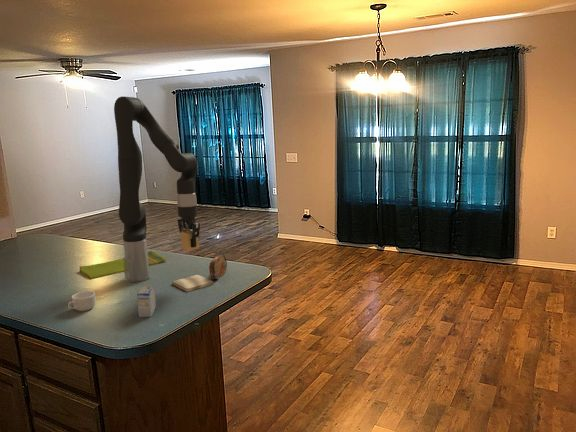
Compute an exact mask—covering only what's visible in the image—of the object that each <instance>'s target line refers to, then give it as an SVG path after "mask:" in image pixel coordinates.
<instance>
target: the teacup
mask: <svg viewBox="0 0 576 432" xmlns="http://www.w3.org/2000/svg"><path fill="white" fill-rule="evenodd" d="M70 304H72V305H73V306H72V307H71V305H70ZM95 304H96V292H95V291H93V290H83V291H80V292H77V293H73V294H72V295H71V301H69V302H68V304H67V307H68V308H69V309H70V310H76V311H78V312H86V311H87V312H88V311H89V310H92V309H93V307H94V306H95Z"/></svg>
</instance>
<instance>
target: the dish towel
mask: <svg viewBox="0 0 576 432" xmlns="http://www.w3.org/2000/svg"><path fill="white" fill-rule="evenodd" d="M147 253H148V264H149V266H154V265H158V264H162V263H166V262H167V259H166V257H164V256H162V255H161V254H159V253H157V252H156V251H154V250H150V251H147ZM123 272H124V273H125V271H124V261H123V258H119V259H115V260H110V261H106V262H100V263H96V264H89V265H80V266H79V273H81V274H82V275H83V276H85V277H86V278H88V279H90V280H95V279H98V278H102V277H107V276H111V275H115V274H119V273H123Z"/></svg>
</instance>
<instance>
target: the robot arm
mask: <svg viewBox="0 0 576 432" xmlns="http://www.w3.org/2000/svg"><path fill="white" fill-rule="evenodd" d="M113 112H114V121H115V128H116V137H117V138H116V141H117V168H118V169H117V170H118V182H119V205H118V217H119V220H120V221H121V223H122V224H123V233H122V239H123V240H122V242H123V251H124V253H123V254H124V257H123V258H122V259H123V261H124V278H125V279H124V280H127V281H128V282H130V283H134V282H142V281H146V280H148V279H150V267H149V264H148V245H147V243H148V242H147V216H146V215H147V213H146V208H145V206H144V204H142V202H140V196H139V195H140V194H139V193H140V185H141V180H142V176H143V175H142V174H143V155H142V150H141V148H140V146H139V144H138V142H137V140H136V138H135V134H134V127H133V126H134V123H133V122H137V123H138V124H139V125H141V126H142V127H143V128H144V129H145V130H146V133H147V134H148V136H149V137H148V138H149V140H150V141H151V143H152V145H154V146H155V147H156V148H157V150H158V151H160V153H161V154H162V155H164V158H165V160H166V161H167V163H168V164H169V166H170V168H172V169H173V171H175V172H177V173H181V176H180V177H179V178H178V179H177V180H176V193H177V195H176V201H177V203H176V204H177V205H176V206H177V215H178V217H179V218H178V219H177V224H178V225H177V226H178V232H179V233H180V235H181V232H182V231H187V232H188V233H190V242H191V247H192V248H193V247H196V238H197V237H198V238H199V237H200V229H201V228H200V227H201V224H200V222H196V217H197V216H198V203H197V202H198V201H197V195H196V177H197V172H198V160H197V158H196V156H195V155H194V154H193V153H191V152H186V153H181V152H180V151H179V149H180V145H179V143H178V142H177V141H176V140H175V139H174V138H173V137H172V136H171V135H170V134H169V133H168V132H167V131H166V130H165V129H164V128H163V126H161V125H160V123H159V121H157V119H156V118H155V116H154V115H153V114H152V113H151V111H150V109H148V107H147V106H146V104H145V103H144V102H143V100H141V99H140V98H138V97H133V96H119V97H117V98H116V99H115V102H114V106H113ZM196 232H197V234H196Z"/></svg>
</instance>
